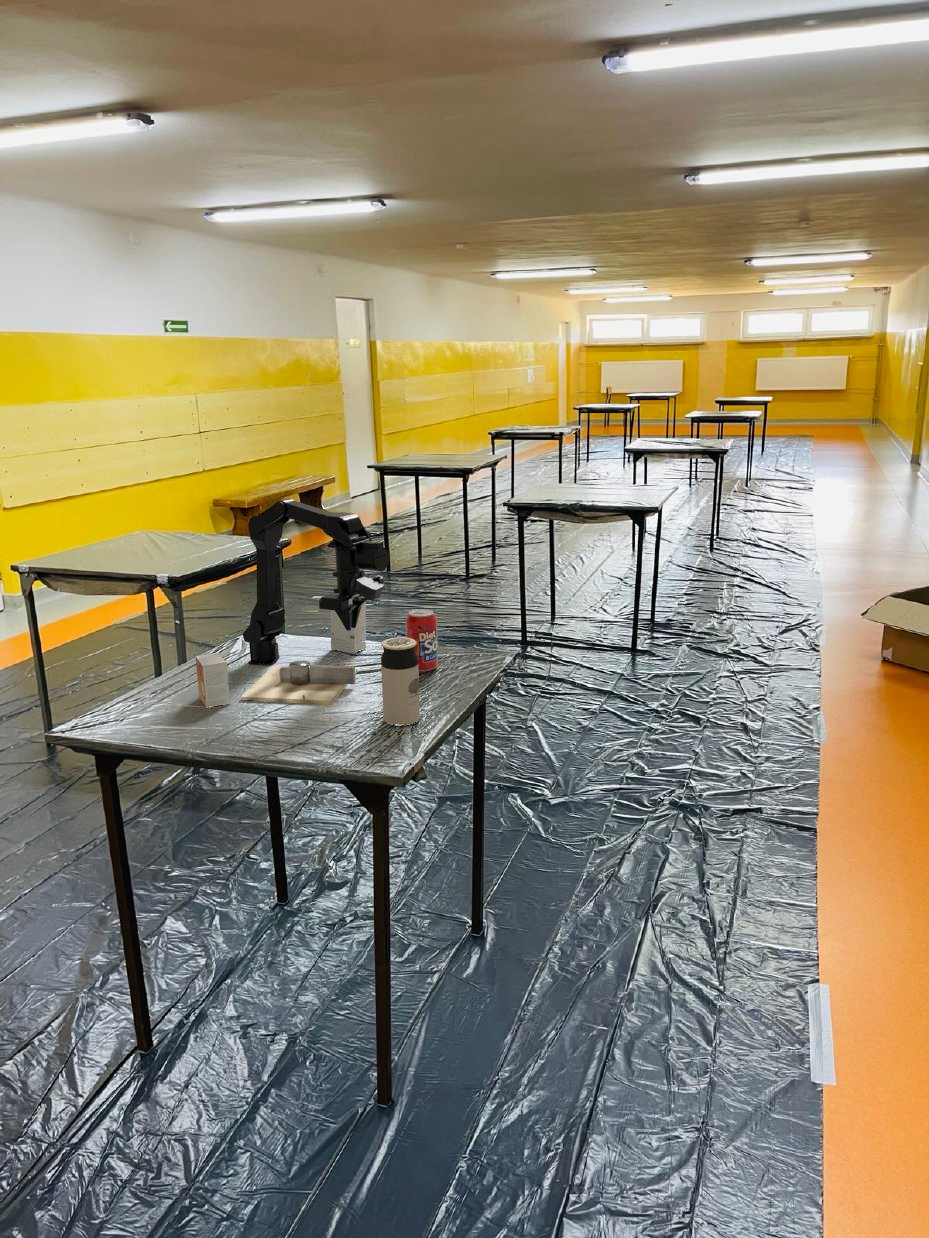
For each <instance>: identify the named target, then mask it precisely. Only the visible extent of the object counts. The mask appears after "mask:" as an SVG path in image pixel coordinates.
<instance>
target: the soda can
mask: <svg viewBox="0 0 929 1238" xmlns="http://www.w3.org/2000/svg"><path fill="white" fill-rule="evenodd" d="M405 638H411V639H414V640H415V641H416V642H417V644H416V645H415V651H416V653H417V655H418V671H419V673H425V672H426V671H427V672H429V671H432V670H434V669H436V668H437V667H438V665H439V664H438V663H439V659H438V656H439V654H438V653H439V650H438V618H437V616H436V615H435V612H434V610H431V609H427V608H419V609H412V610H409V611H408V615H407V616H406V618H405ZM427 672H426V673H427Z"/></svg>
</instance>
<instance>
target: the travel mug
mask: <svg viewBox="0 0 929 1238" xmlns="http://www.w3.org/2000/svg"><path fill="white" fill-rule="evenodd" d="M416 644H417V642H416V641H415V640H414V639H411V638H406V636H405V637H403V636H402V637H397V636H396V637H392V638H387V639H385V640H383V641H382V642H381V646H382V648H383V652H382V654H381V656H380V663H381V667H380V670H381V692H382V693H381V694H382V712H383V713H382V714H383V718H382V719H383V722H384V721H385V722H388V723H391V724H404V725H405V724H406V725H407V724H412V723H414V724H416V723H418V722H419V721H420V720H421V714H420V713H421V711H420V705H421V704H420V681H419V680H420V679H419V678H420V677H419V675H420V672H419V671H418V655H417V653H416V651H415V645H416ZM419 719H420V720H419ZM385 722H384V723H385ZM415 722H416V723H415ZM412 725H413V724H412Z"/></svg>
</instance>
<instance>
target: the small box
mask: <svg viewBox="0 0 929 1238" xmlns="http://www.w3.org/2000/svg"><path fill="white" fill-rule="evenodd" d="M195 665H196V677H197V686H198V687H197V688H198V696H199V697H200V698H201V699H200V698H199V699H200V700H201V702H202V701H203V702H202V703H203V705H204V704H205V705H204V707H205V706H206V707H209V706H215V705H223V704H227V703H230V704H231V701H230V700H231V698H230V697H231V696H230V689H229V687H230V686H229V675H228V664H227V661H225V659H224V658H223V657H222V656H221V654H220V652H215V653H209V654H208V653H207V654H203V655H196V656H195ZM206 707H205V708H206Z"/></svg>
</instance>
